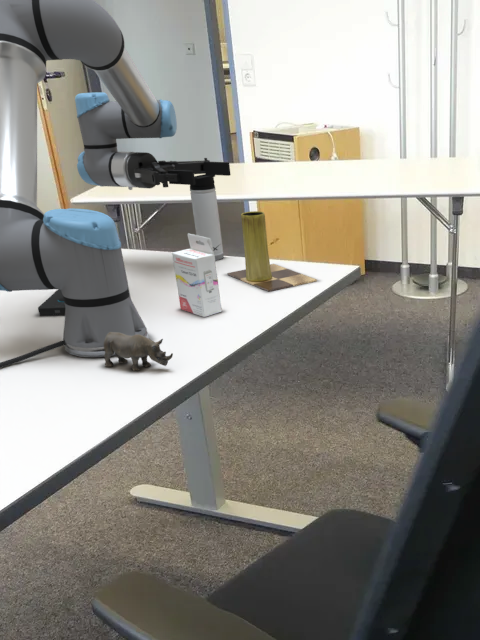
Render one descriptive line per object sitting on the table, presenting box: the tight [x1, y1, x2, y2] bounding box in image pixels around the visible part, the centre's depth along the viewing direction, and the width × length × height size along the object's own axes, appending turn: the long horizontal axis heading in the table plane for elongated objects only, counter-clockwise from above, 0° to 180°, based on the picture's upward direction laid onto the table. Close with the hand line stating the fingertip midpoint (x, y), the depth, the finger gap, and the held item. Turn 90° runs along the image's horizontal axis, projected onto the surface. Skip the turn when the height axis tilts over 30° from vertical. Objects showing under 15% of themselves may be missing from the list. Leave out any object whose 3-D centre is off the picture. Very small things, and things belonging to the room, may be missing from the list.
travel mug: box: [189, 174, 224, 261], centre depth 192 cm, size 6×7×20 cm
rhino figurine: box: [103, 332, 174, 371], centre depth 131 cm, size 4×14×6 cm, turn 69°
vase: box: [240, 210, 272, 282], centre depth 174 cm, size 6×6×14 cm
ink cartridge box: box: [171, 232, 223, 318], centre depth 155 cm, size 9×5×15 cm, turn 47°
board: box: [227, 263, 318, 293], centre depth 179 cm, size 13×20×1 cm, turn 36°
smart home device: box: [37, 289, 66, 317], centre depth 167 cm, size 8×2×20 cm
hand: (211, 173), depth 169 cm, fingers open, 13 cm apart
